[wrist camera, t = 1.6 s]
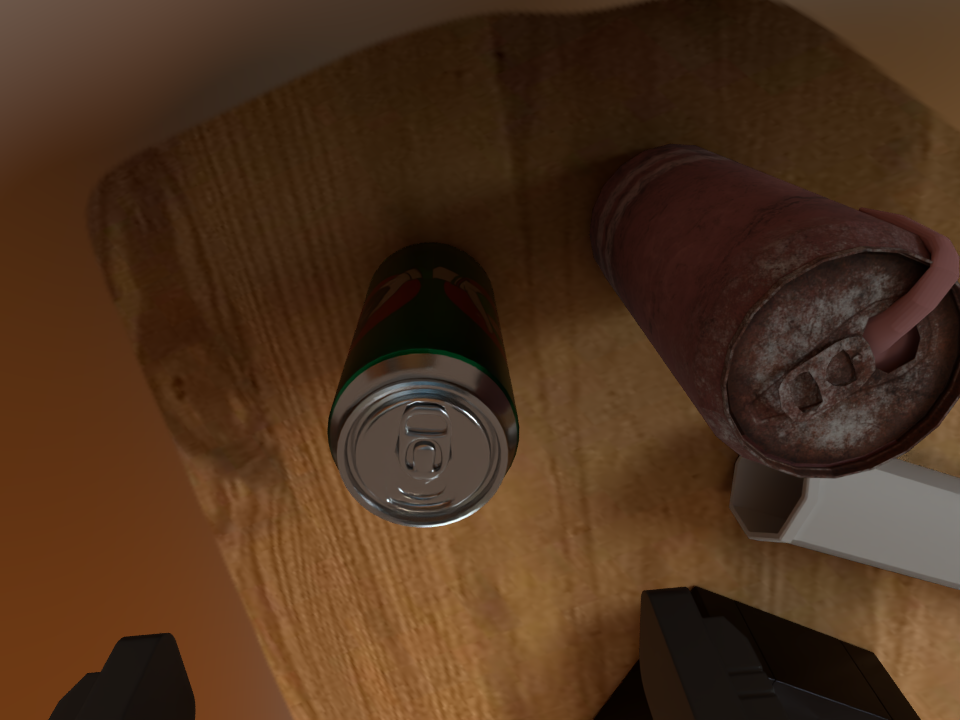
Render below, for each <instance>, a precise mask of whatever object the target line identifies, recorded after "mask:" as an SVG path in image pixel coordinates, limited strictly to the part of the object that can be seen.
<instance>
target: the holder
mask: <svg viewBox="0 0 960 720" xmlns="http://www.w3.org/2000/svg"><path fill="white" fill-rule="evenodd" d="M691 594H692V597H693V599H694V601H695V603H696V605H697V607H698V610H699V612H700V614H701V616H702V618H706V617H716V616H724V617H725V618H726V619H727V620H728V621H729V622H731V623H732V624H733V625H734V626H735V627H736V628H737V629H738V630H739V631H740V632H741V633H742V634H744V635H745V636H746V637H747V638H748V640H749V642H750V643H751V645H752V647H753V649H754V651H755V653H756V655H757V657H758V659H759V661H760V663H761V665H762V669H763V672H766V674H767V676H768V678H769V680H770V682H771V684H772V686H773V688H774V692H775V695H778V697H779V699H780V701H781V703H782V705H783V707H784V709H785V711H786V713H787V715H788V717H789V719H790V720H921V719H920V718H919V716H918V715H917V713H916V712H915V711H914V709H913V708H912V706H911V705H910V704H909V702H908V701H907V699H906V698H905V696H904V695H903V694H902V692H901V691H900V689H899V688H898V687H897V685H896V684H895V682H894V681H893V679H892V678H891V677H890V675H889V674H888V672H887V671H886V670H885V668H884V667H883V665H882V664H881V662H880V661H879V660H878V658H877V657H876V655H875V654H874V653H873V652H870V651H867V650H865V649H862V648H859V647H857V646H854V645H851V644H849V643H846V642H843V641H841V640H838V639H836V638H833V637H831V636H828V635H825V634H823V633H820V632H817V631H815V630H812V629H809V628H807V627H804V626H801V625H799V624H796V623H793V622H791V621H788V620H785V619H783V618H780V617H777V616H775V615H772V614H769V613H767V612H764V611H761V610H759V609H756V608H753V607H751V606H748V605H745V604H743V603H740V602H737V601H733V600H732V599H729V598H726V597H724V596H721V595H718V594H716V593H713V592H710V591H708V590H705V589H702V588H700V587H697V586H695V587H694V588H693V589H692V591H691ZM594 720H653V717H652V714H651V711H650V708H649V705H648V701H647V698H646V695H645V691H644V687H643V683H642V677H641V670H640V660H638V662H637V663H636V664H635V666H634V667H633V668H632V670H631V671H630V672H629V674H628V675H627V676H626V678H625V679H624V680H623V681H622V683H621V684H620V685H619V687H618V688H617V689H616V691H615V692H614V693H613V695H612V696H611V697H610V699H609V700H608V701H607V703H606V704H605V705H604V707H603V708H602V709H601V710H600V712H599V713H598V714H597V716H596V717H595V718H594Z"/></svg>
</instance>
